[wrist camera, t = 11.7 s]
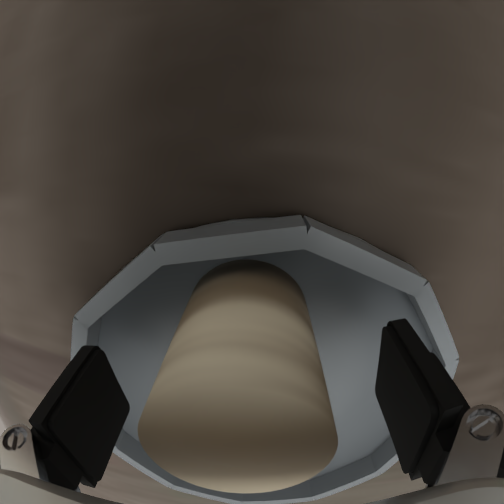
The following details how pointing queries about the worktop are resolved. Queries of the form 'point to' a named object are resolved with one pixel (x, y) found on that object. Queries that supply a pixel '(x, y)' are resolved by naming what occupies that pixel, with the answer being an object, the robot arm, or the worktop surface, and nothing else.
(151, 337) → the ring tray
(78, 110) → the worktop surface
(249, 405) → the beige cylinder
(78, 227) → the worktop surface
